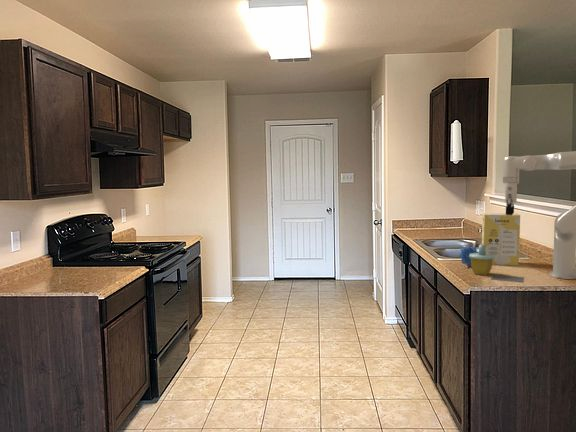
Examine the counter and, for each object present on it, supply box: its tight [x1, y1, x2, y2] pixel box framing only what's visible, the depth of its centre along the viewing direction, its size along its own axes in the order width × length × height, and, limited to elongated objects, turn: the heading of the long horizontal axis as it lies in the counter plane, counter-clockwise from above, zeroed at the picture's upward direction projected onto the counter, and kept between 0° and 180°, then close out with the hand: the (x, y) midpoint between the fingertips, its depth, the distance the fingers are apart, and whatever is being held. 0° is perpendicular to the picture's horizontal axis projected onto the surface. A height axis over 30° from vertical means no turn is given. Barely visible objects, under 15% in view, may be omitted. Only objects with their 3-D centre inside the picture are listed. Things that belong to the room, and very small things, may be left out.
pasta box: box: [481, 212, 521, 266], centre depth 270 cm, size 18×10×28 cm, turn 74°
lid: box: [469, 244, 495, 259], centre depth 241 cm, size 12×12×6 cm
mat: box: [490, 274, 525, 284], centre depth 231 cm, size 14×12×1 cm
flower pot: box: [470, 258, 493, 276], centre depth 242 cm, size 9×9×9 cm
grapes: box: [458, 244, 479, 268], centre depth 259 cm, size 12×7×12 cm, turn 85°
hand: (509, 214), depth 244 cm, fingers open, 9 cm apart
